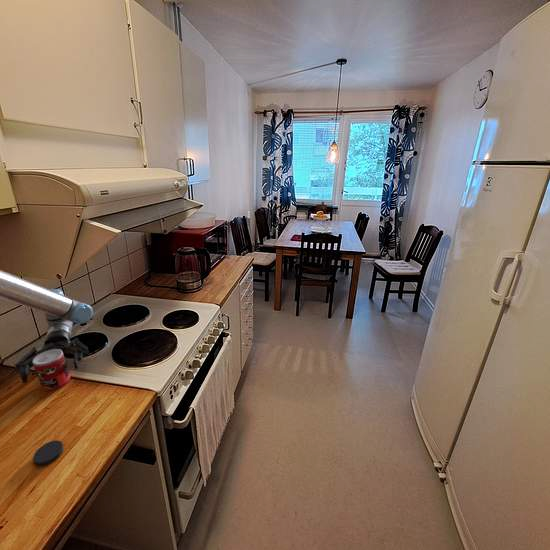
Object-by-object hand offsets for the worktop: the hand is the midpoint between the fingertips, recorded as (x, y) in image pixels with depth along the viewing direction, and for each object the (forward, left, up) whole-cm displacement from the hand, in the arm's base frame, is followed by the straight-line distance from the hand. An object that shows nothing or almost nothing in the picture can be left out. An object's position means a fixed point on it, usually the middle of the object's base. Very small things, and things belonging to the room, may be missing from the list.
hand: (50, 372), depth 92 cm
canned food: (-1, +2, -7) cm, 7 cm away
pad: (+15, -22, -7) cm, 28 cm away
